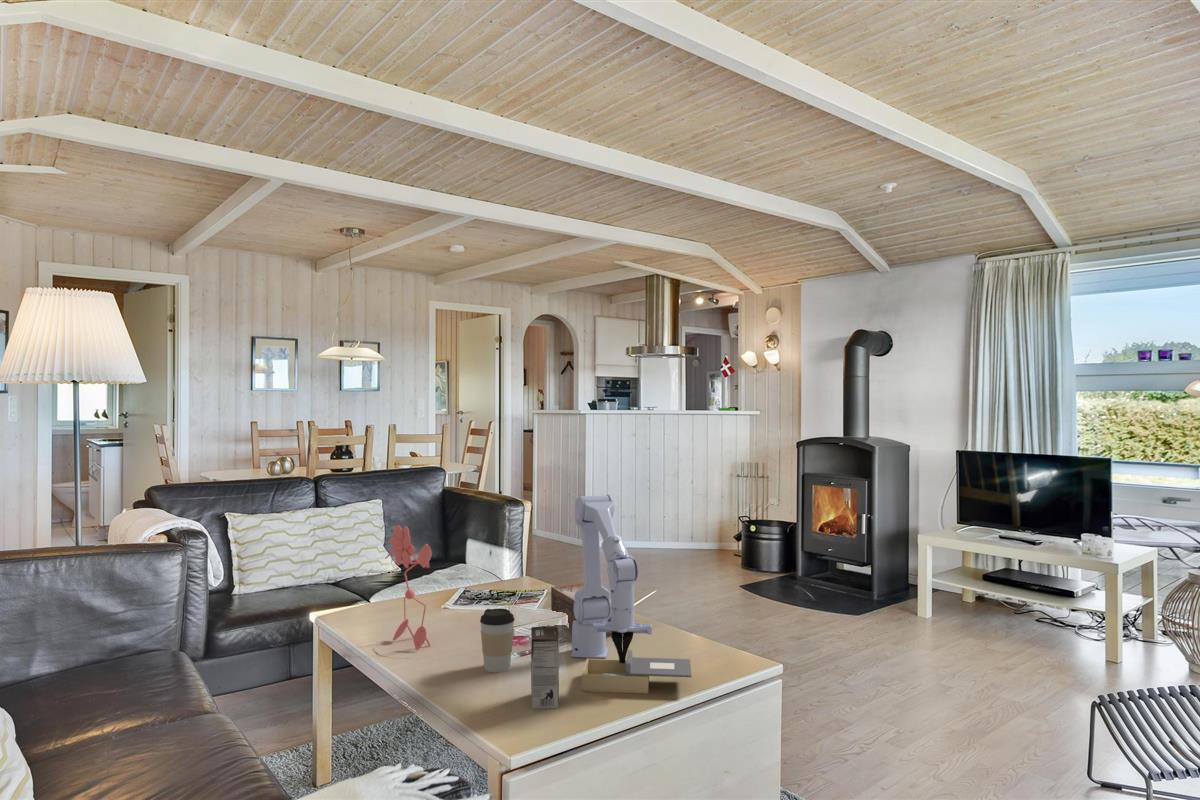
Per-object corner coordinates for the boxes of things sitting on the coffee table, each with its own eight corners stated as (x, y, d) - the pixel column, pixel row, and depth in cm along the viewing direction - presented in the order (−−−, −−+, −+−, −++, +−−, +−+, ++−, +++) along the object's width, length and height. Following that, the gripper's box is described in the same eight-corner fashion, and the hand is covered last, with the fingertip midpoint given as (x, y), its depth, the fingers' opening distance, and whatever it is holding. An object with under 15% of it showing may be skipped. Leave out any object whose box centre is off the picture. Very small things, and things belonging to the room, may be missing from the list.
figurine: (403, 630, 223) (401, 516, 223) (448, 652, 204) (445, 527, 204) (354, 643, 213) (352, 523, 212) (397, 667, 194) (395, 535, 193)
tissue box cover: (551, 617, 238) (551, 586, 238) (591, 611, 245) (591, 582, 245) (585, 640, 215) (585, 606, 215) (628, 633, 222) (628, 600, 222)
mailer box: (581, 691, 177) (581, 674, 177) (586, 674, 188) (586, 658, 188) (648, 693, 176) (648, 676, 176) (649, 676, 187) (649, 660, 187)
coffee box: (531, 693, 176) (531, 626, 176) (558, 692, 176) (558, 625, 176) (530, 709, 167) (530, 638, 167) (559, 708, 167) (559, 637, 167)
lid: (624, 675, 176) (624, 664, 176) (626, 659, 187) (626, 649, 187) (691, 677, 175) (691, 666, 175) (689, 661, 186) (689, 651, 186)
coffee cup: (520, 663, 196) (520, 607, 196) (505, 675, 187) (505, 617, 187) (489, 659, 199) (489, 604, 199) (473, 671, 190) (473, 613, 190)
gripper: (591, 610, 179) (591, 666, 178) (651, 612, 177) (651, 668, 177) (594, 603, 186) (594, 656, 186) (652, 604, 184) (651, 658, 184)
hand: (622, 661), depth 182 cm, fingers closed
